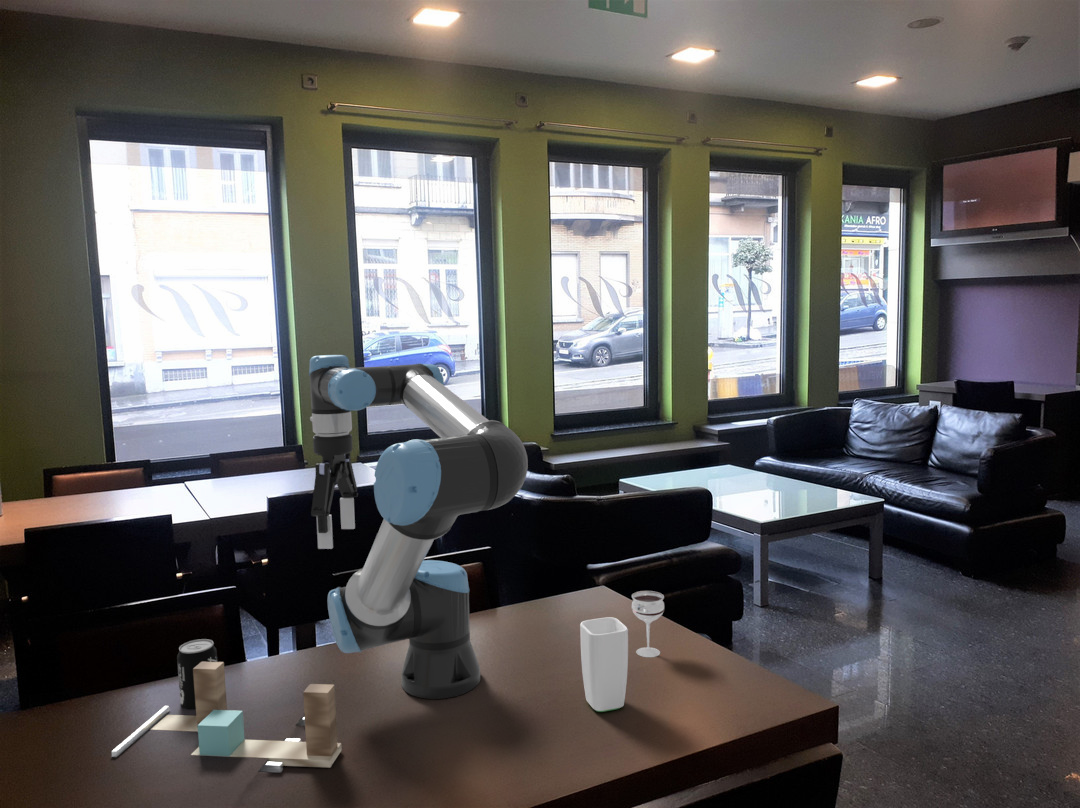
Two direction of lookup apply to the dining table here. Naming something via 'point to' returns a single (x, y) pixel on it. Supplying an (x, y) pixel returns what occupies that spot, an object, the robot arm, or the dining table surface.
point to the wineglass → (648, 615)
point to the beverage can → (187, 661)
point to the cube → (221, 732)
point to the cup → (604, 662)
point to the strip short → (200, 698)
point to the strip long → (318, 730)
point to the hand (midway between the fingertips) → (337, 538)
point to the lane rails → (147, 725)
